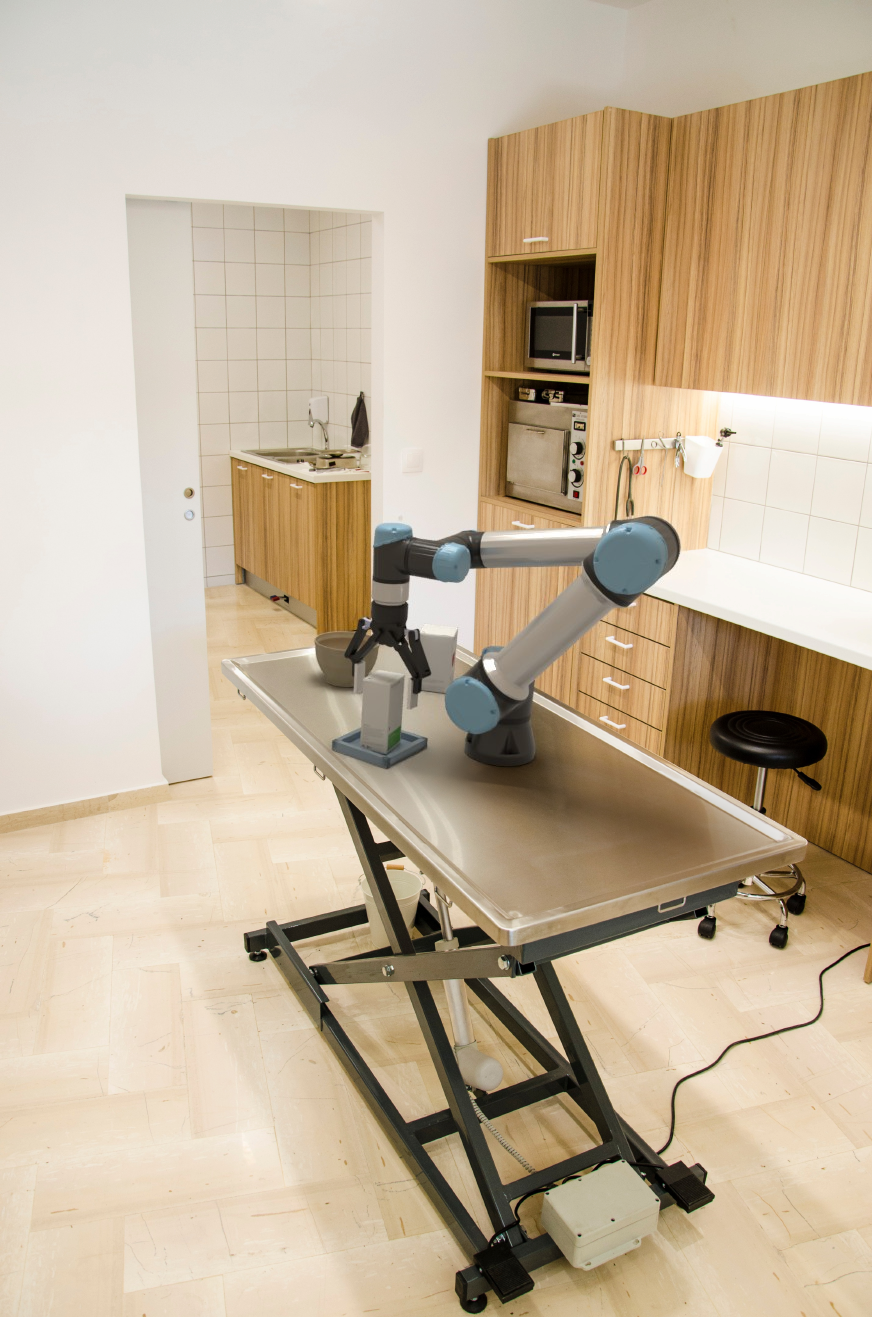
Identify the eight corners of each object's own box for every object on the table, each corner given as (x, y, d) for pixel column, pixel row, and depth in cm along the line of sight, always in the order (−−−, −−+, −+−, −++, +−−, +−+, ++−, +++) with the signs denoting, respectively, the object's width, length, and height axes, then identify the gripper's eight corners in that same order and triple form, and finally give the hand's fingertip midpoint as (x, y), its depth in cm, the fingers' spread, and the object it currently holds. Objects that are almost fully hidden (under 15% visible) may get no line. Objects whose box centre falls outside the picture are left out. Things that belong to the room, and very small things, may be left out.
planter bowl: (385, 676, 252) (388, 636, 249) (365, 696, 237) (368, 654, 234) (326, 667, 256) (328, 627, 252) (302, 686, 241) (304, 643, 237)
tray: (427, 747, 211) (427, 738, 211) (386, 769, 199) (386, 759, 198) (374, 729, 218) (374, 720, 217) (331, 749, 206) (332, 740, 205)
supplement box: (449, 694, 243) (454, 636, 239) (413, 690, 245) (417, 632, 240) (454, 682, 252) (459, 626, 247) (419, 678, 253) (424, 622, 248)
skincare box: (386, 756, 204) (390, 685, 199) (357, 749, 206) (361, 678, 201) (401, 742, 211) (406, 673, 206) (373, 735, 213) (377, 667, 208)
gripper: (452, 609, 195) (445, 709, 202) (352, 586, 208) (348, 681, 214) (431, 616, 189) (425, 719, 196) (329, 592, 202) (326, 690, 208)
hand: (385, 700), depth 205 cm, fingers open, 13 cm apart
